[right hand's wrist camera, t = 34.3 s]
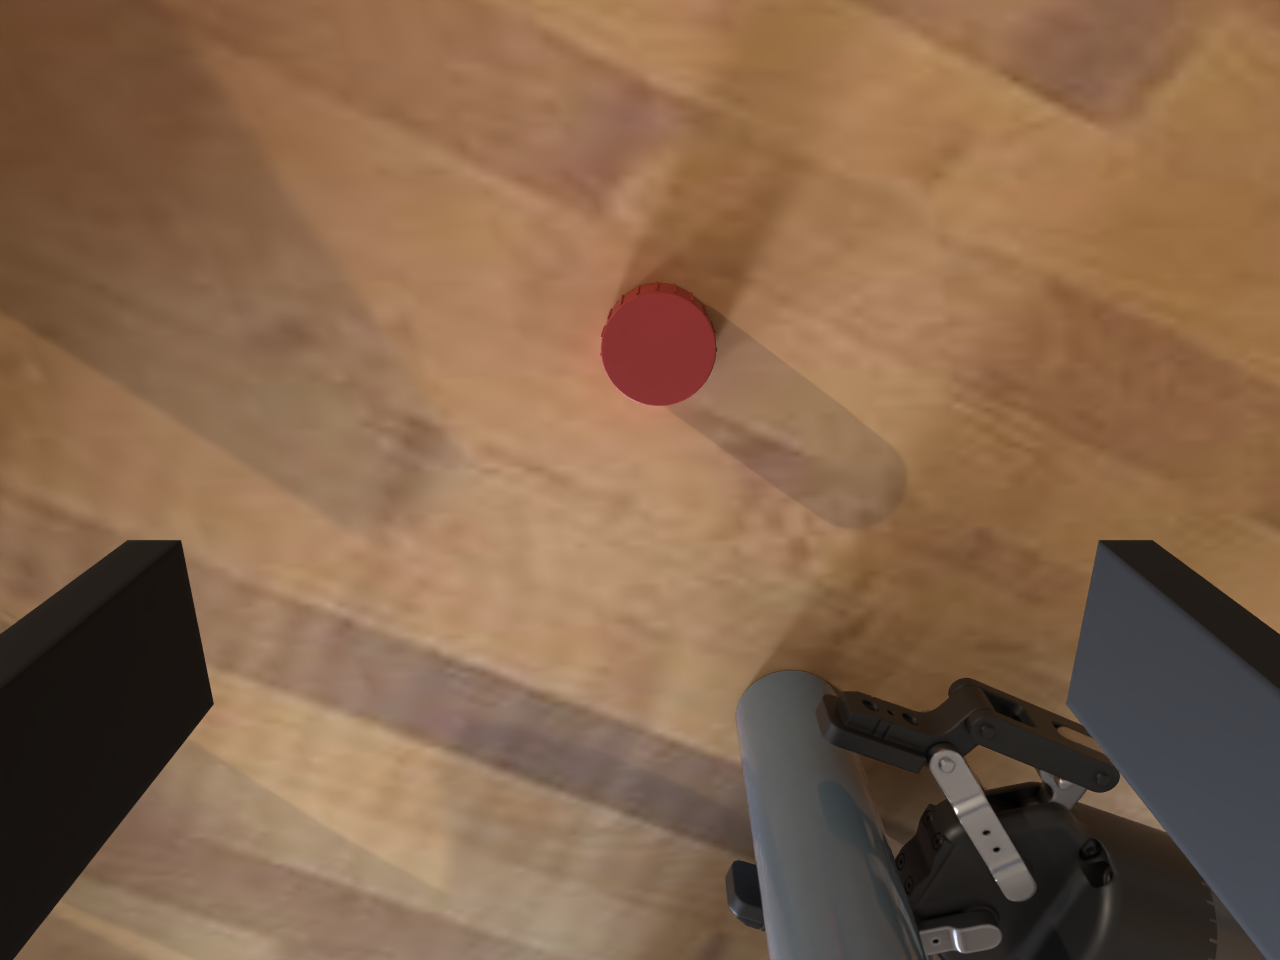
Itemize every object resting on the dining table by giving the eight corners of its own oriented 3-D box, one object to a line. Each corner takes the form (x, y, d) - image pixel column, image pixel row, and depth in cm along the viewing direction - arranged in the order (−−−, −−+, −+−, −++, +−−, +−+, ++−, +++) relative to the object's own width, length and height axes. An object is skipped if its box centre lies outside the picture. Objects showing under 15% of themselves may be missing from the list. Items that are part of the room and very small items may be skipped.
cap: (736, 331, 33) (742, 343, 31) (664, 412, 34) (664, 430, 32) (652, 257, 32) (652, 265, 30) (581, 343, 34) (575, 357, 31)
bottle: (716, 734, 40) (800, 1541, 16) (769, 652, 38) (944, 1416, 15) (807, 774, 40) (1010, 1605, 17) (863, 696, 39) (1169, 1492, 16)
